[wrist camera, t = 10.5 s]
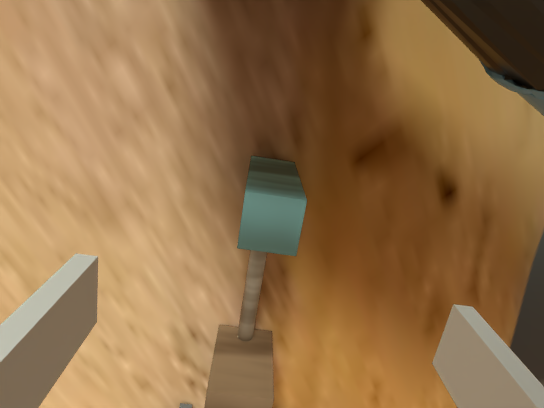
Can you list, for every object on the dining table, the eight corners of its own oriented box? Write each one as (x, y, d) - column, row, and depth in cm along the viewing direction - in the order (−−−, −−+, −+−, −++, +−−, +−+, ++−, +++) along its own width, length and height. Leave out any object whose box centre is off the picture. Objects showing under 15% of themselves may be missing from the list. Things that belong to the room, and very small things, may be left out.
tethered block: (242, 154, 31) (231, 189, 21) (303, 163, 31) (320, 202, 22) (212, 376, 38) (194, 477, 28) (262, 381, 38) (261, 483, 29)
